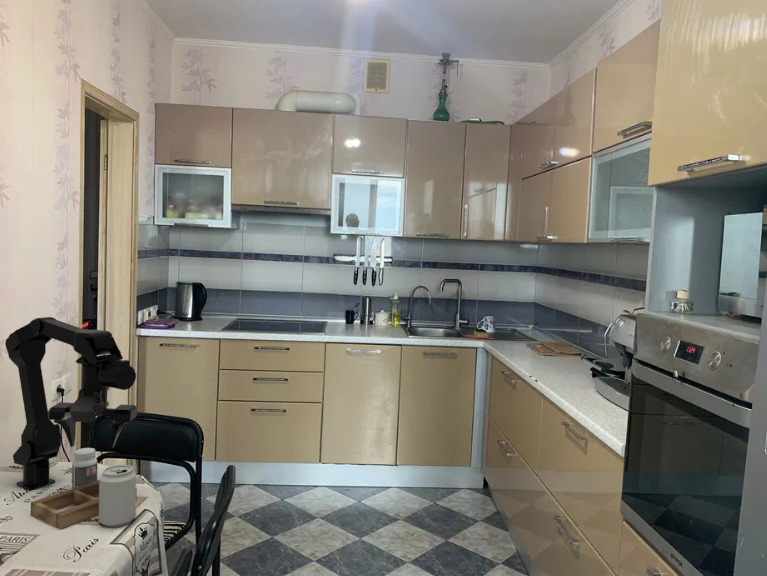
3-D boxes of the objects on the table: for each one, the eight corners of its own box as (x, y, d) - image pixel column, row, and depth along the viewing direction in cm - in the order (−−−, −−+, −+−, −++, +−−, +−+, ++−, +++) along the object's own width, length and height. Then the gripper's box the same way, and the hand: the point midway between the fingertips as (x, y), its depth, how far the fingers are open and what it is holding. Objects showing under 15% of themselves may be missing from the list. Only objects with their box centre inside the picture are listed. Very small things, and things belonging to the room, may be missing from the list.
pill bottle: (102, 487, 147) (102, 449, 147) (82, 495, 142) (83, 456, 142) (86, 483, 149) (86, 445, 149) (66, 491, 144) (67, 452, 144)
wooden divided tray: (30, 515, 131) (30, 502, 130) (106, 489, 146) (106, 477, 146) (61, 529, 124) (61, 515, 124) (136, 500, 140) (136, 488, 140)
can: (121, 530, 125) (122, 476, 124) (90, 526, 126) (91, 472, 126) (142, 516, 132) (143, 464, 132) (113, 512, 134) (114, 461, 133)
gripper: (37, 390, 130) (35, 457, 130) (123, 393, 132) (121, 460, 132) (59, 379, 141) (57, 441, 142) (139, 382, 143) (136, 443, 144)
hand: (92, 447), depth 139 cm, fingers open, 9 cm apart
